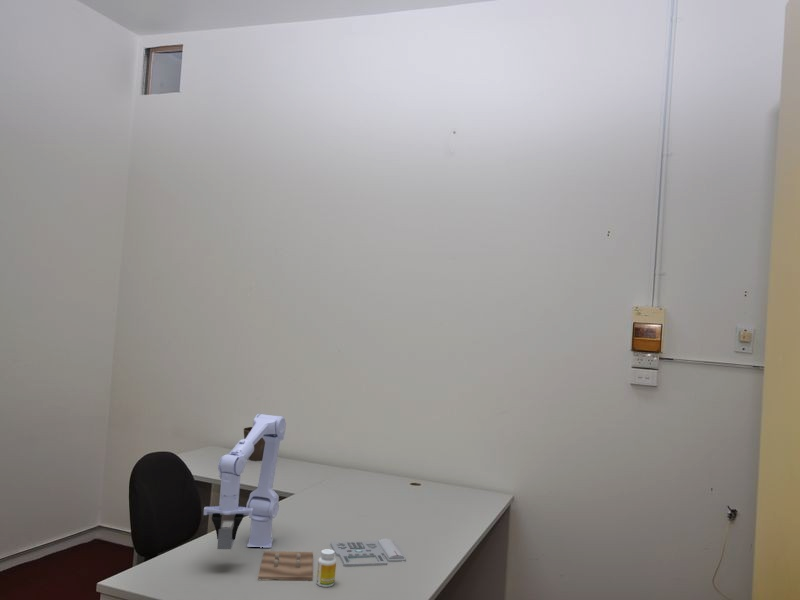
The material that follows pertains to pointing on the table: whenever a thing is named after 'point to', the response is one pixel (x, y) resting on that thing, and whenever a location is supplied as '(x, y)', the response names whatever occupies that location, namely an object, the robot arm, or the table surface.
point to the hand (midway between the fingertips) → (226, 538)
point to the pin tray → (286, 565)
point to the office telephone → (368, 552)
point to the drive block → (225, 535)
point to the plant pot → (256, 447)
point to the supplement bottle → (326, 568)
